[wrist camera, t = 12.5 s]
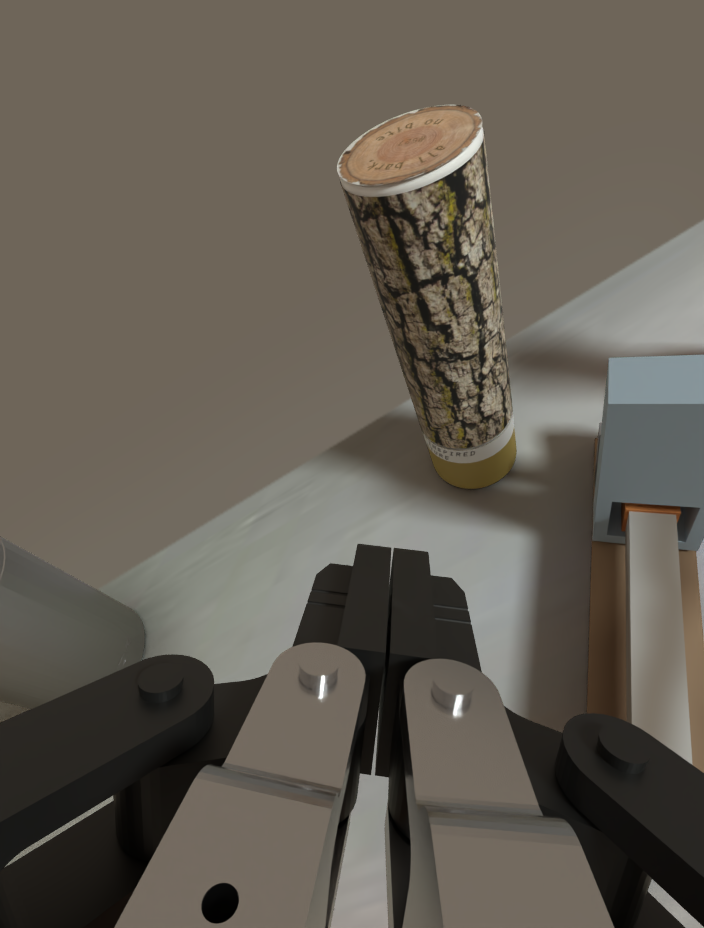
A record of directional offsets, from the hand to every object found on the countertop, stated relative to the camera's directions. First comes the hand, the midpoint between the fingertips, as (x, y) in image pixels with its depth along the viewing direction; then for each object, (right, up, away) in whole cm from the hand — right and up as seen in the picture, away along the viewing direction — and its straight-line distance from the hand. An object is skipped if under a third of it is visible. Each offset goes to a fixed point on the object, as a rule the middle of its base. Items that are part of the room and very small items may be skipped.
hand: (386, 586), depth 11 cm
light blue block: (+19, -2, +24) cm, 31 cm away
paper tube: (+10, +3, +32) cm, 33 cm away
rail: (+18, -6, +22) cm, 29 cm away
